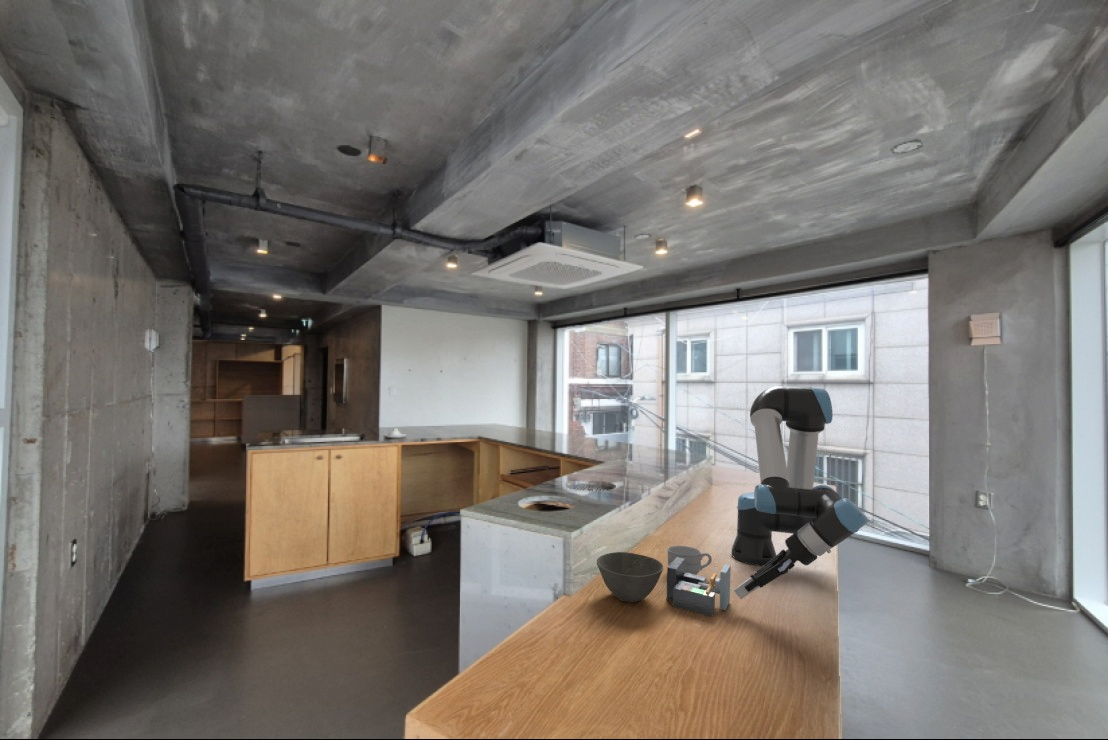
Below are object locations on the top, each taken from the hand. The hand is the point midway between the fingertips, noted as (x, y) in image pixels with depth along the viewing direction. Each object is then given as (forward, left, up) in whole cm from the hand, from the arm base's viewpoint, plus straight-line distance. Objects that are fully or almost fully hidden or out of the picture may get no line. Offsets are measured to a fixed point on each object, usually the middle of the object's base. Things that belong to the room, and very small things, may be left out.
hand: (737, 594), depth 129 cm
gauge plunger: (-1, -7, -4) cm, 8 cm away
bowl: (+10, -28, -5) cm, 30 cm away
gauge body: (+1, -12, -4) cm, 13 cm away
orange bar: (+2, -7, +1) cm, 7 cm away
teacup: (-18, -18, -5) cm, 25 cm away
